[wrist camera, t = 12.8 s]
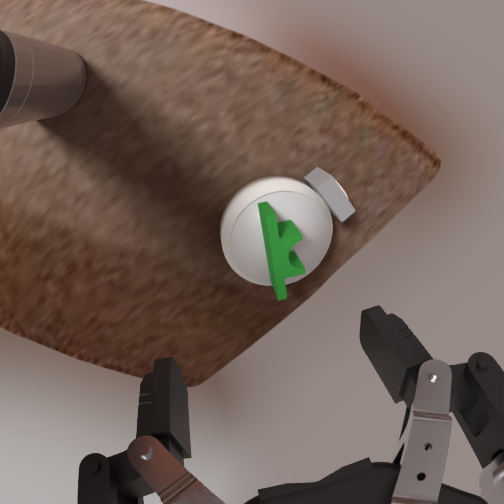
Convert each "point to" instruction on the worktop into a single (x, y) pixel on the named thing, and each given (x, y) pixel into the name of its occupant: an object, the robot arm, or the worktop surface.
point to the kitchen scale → (286, 208)
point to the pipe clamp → (280, 249)
